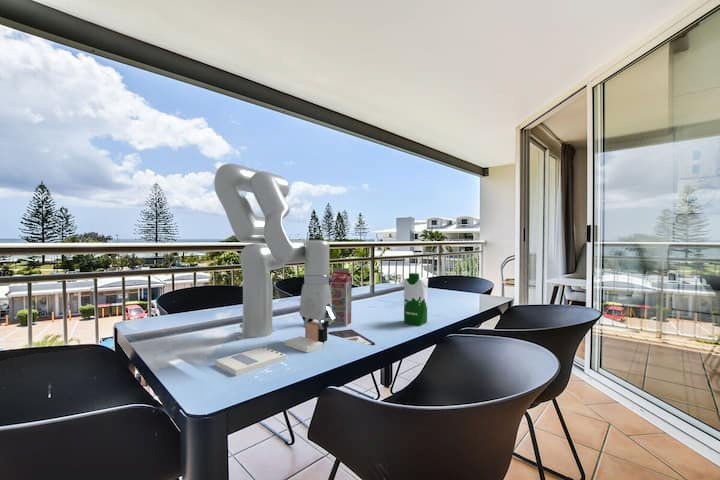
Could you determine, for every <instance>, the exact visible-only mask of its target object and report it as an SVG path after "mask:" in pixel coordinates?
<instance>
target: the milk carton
mask: <svg viewBox="0 0 720 480" xmlns="http://www.w3.org/2000/svg"><path fill="white" fill-rule="evenodd" d="M428 285H429V278H428V277H420V273H415V272H411V273H408V277H404V278H403V288H404V289H403V322H404V323H403V324H408V325H413V326H420V327H421V326H423V325H424V324H427V322H428Z"/></svg>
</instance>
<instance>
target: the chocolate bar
mask: <svg viewBox="0 0 720 480" xmlns="http://www.w3.org/2000/svg"><path fill="white" fill-rule="evenodd" d="M328 334H329V335H330V336H333V337H338V338H341V339H346V340H349V341H354V342H356V343H357V342H358V343H360V344H364V345H367V346H368V345H369V346H375V345H376V342H374V341H372V340H370V339H369V338H367V337H366V336H364V335H363V334H360V333H359V332H357V331H355V330H353V329H352V328H350V329H343V330H342V329H341V330H334V331H332V330H331V331H327V335H328Z"/></svg>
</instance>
